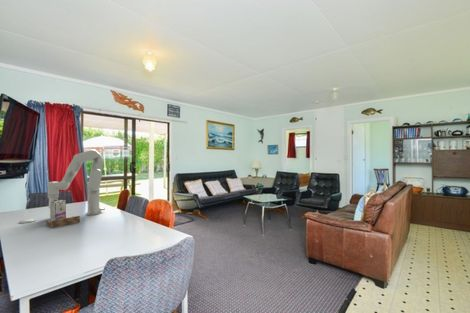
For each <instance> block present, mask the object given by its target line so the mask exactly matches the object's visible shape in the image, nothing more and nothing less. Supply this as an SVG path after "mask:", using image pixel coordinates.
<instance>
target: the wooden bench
mask: <svg viewBox="0 0 470 313" xmlns="http://www.w3.org/2000/svg"><path fill="white" fill-rule="evenodd" d="M80 222H81V216H80V215H77V216H76V215H75V216H70V217H66V218H64V219H58V220H53V221H51V222H50V221H49V220H46V226H48V227H49V228H57V227H61V226H67V225H71V224H78V223H80Z"/></svg>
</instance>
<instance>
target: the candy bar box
mask: <svg viewBox="0 0 470 313" xmlns="http://www.w3.org/2000/svg"><path fill="white" fill-rule="evenodd" d="M66 203H67V200H66V199H58V201H55V202H51V203H50V208H49V209H50V210H49V211H50V214H49V216H50V217H49V219H50V221H49V222H51V221H53V220H58V219H64V218H67V213H66V212H67V206H66V205H67V204H66Z"/></svg>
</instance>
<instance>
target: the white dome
mask: <svg viewBox="0 0 470 313" xmlns="http://www.w3.org/2000/svg"><path fill="white" fill-rule="evenodd" d="M36 221H37V220H36V218H25V219H21V220H19V223H18V224H29V223H34V222H36Z"/></svg>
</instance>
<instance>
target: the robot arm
mask: <svg viewBox="0 0 470 313" xmlns="http://www.w3.org/2000/svg"><path fill="white" fill-rule="evenodd" d="M87 161H91V162H92V163H91V169H90V172H89V176H88V177H89V178H88V181H87V185H86V186H87V212H85V215H86V216H96V215H99V214H101V213H102V211H105V210H106V208H105V207H100V187H101V183H102V182H101V181H102V177H103V172H102V171H103V164H104V158H103V156H102V154H101V153H100V152H98V150H96V149H94V148H93V149H88V150H86V151H83V152H79V153H77V154H75V155H73V157H72V160H71V161H70V163H69V165H68V167H67V168H66V171H65V174H64V176H63V178H62V179H61V181H49V182H48V183H47V199H48V208H49V209H50V203H51V202H55V201H59V196H60V192H59V191H60V190H61V191H62V190H63V191H65V190H67V189H69V187H70V185H71V184H72V182H73V181H74V179H75V177H76V176H77V174H78V172H79V171H80V169H81V167H82V165H83V164H84V163H86V162H87Z"/></svg>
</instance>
